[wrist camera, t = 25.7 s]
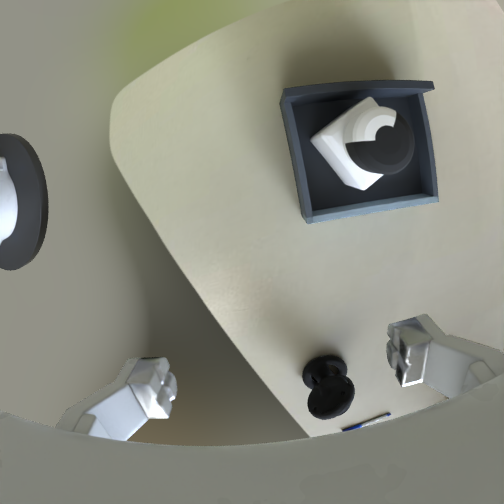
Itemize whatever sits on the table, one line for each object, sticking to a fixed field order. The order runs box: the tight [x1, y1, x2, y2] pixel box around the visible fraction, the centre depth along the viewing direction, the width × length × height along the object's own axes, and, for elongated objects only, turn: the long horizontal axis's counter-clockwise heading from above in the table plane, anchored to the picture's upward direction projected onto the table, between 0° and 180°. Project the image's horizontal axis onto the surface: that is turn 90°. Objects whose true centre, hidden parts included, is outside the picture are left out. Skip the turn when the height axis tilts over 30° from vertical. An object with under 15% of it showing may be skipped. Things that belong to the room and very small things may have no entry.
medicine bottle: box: [310, 97, 414, 190], centre depth 27 cm, size 7×7×12 cm
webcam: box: [302, 355, 355, 420], centre depth 40 cm, size 8×8×10 cm
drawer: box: [280, 80, 439, 224], centre depth 31 cm, size 15×18×8 cm
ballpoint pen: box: [342, 413, 391, 432], centre depth 49 cm, size 10×1×1 cm, turn 114°
